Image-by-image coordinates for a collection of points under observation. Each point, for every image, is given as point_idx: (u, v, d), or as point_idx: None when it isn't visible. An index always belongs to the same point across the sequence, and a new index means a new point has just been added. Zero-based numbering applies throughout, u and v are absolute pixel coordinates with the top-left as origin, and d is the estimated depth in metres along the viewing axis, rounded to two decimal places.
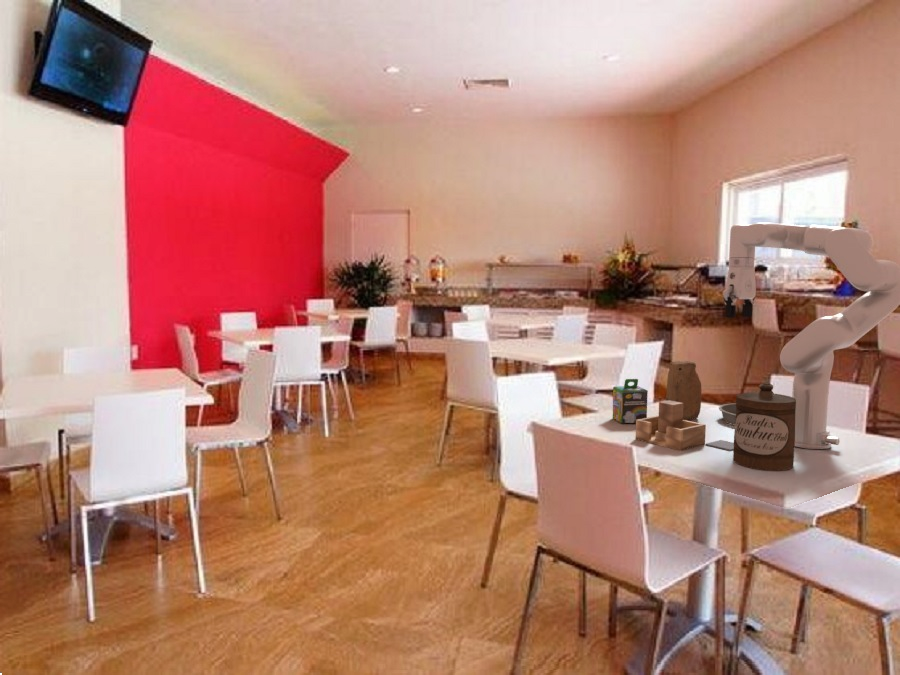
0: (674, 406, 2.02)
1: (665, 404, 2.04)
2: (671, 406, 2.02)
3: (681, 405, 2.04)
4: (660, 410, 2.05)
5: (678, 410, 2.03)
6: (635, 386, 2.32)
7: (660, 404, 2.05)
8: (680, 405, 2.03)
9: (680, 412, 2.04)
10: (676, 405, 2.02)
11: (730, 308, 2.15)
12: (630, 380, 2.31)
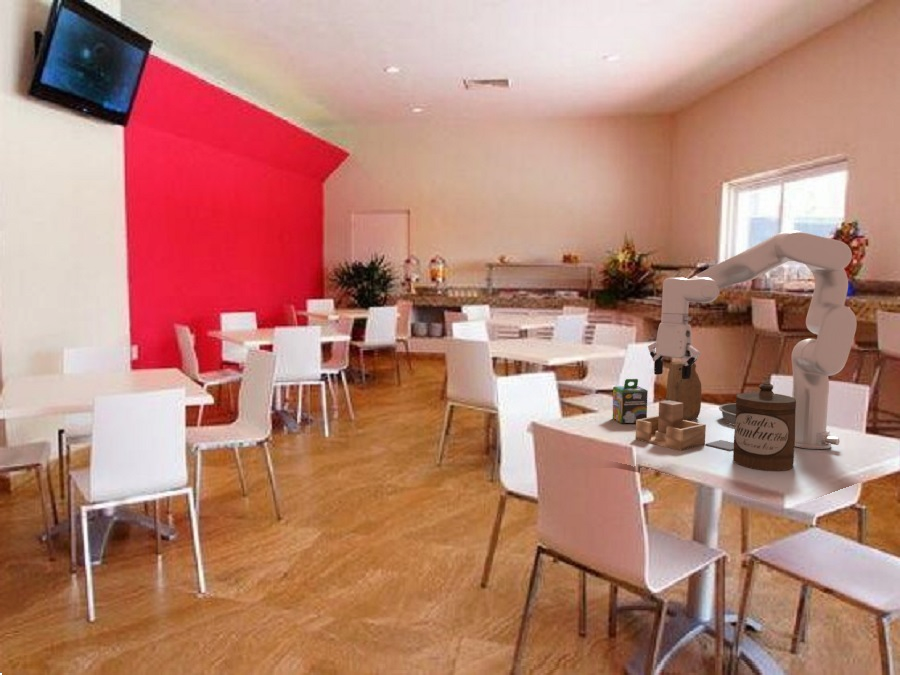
0: (674, 406, 2.02)
1: (665, 404, 2.04)
2: (671, 406, 2.02)
3: (681, 405, 2.04)
4: (660, 410, 2.05)
5: (678, 410, 2.03)
6: (635, 386, 2.32)
7: (660, 404, 2.05)
8: (680, 405, 2.03)
9: (680, 412, 2.04)
10: (676, 405, 2.02)
11: (690, 369, 1.99)
12: (630, 380, 2.31)
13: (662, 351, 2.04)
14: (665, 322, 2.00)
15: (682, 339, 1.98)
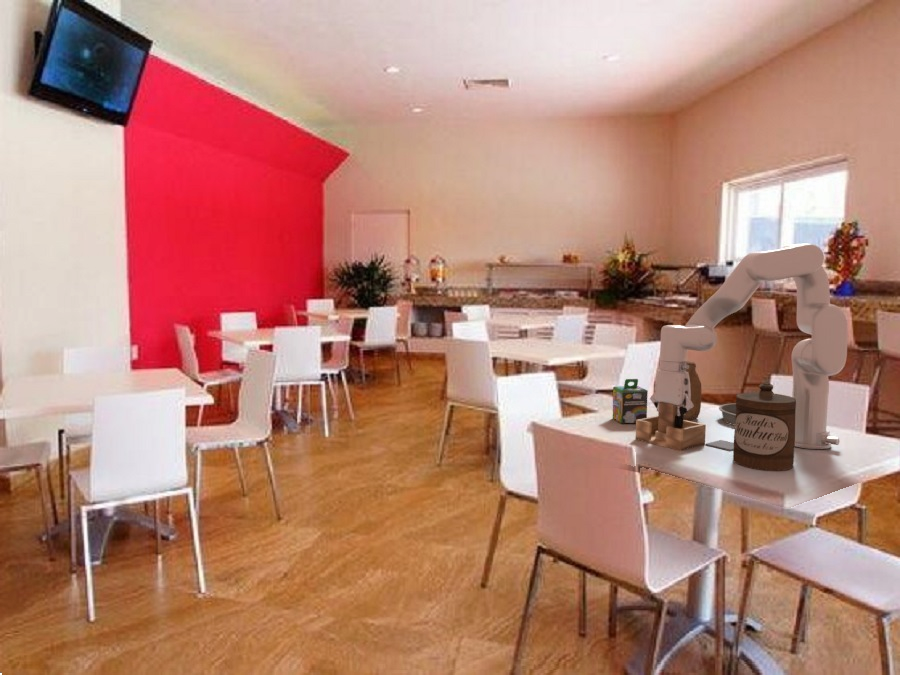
0: (674, 406, 2.02)
1: (665, 404, 2.04)
2: (671, 406, 2.02)
3: None
4: (660, 410, 2.05)
5: None
6: (635, 386, 2.32)
7: (660, 404, 2.05)
8: None
9: None
10: None
11: (682, 418, 2.02)
12: (630, 380, 2.31)
13: (660, 397, 2.05)
14: (663, 370, 2.02)
15: (680, 387, 1.99)
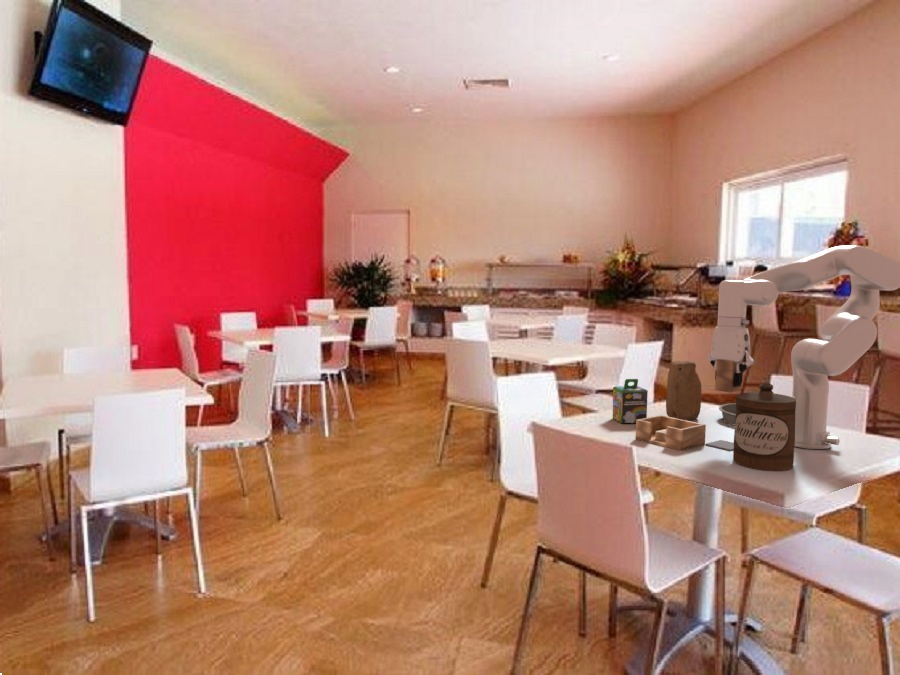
0: (733, 363, 1.96)
1: (723, 361, 1.98)
2: (730, 363, 1.96)
3: None
4: (718, 368, 1.99)
5: None
6: (635, 386, 2.32)
7: (718, 361, 1.99)
8: None
9: None
10: None
11: (741, 376, 1.97)
12: (630, 380, 2.31)
13: (718, 355, 1.99)
14: (722, 326, 1.96)
15: (740, 343, 1.94)
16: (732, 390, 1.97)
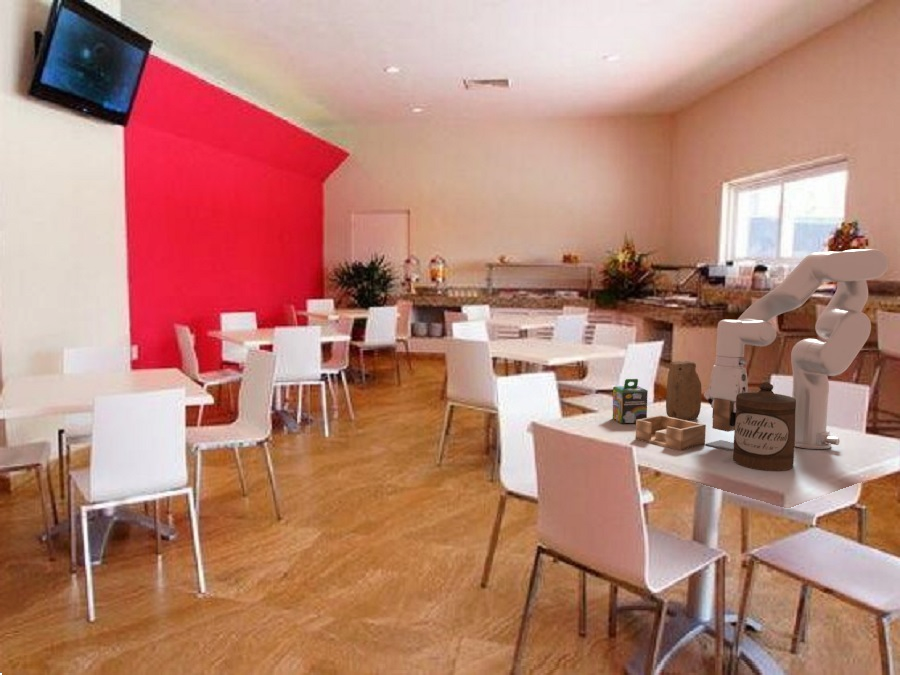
0: (730, 402, 1.97)
1: (721, 400, 1.99)
2: (727, 402, 1.97)
3: None
4: (715, 406, 2.00)
5: None
6: (635, 386, 2.32)
7: (715, 400, 2.00)
8: None
9: None
10: None
11: None
12: (630, 380, 2.31)
13: (715, 393, 2.00)
14: (720, 365, 1.97)
15: (738, 383, 1.95)
16: (729, 429, 1.98)
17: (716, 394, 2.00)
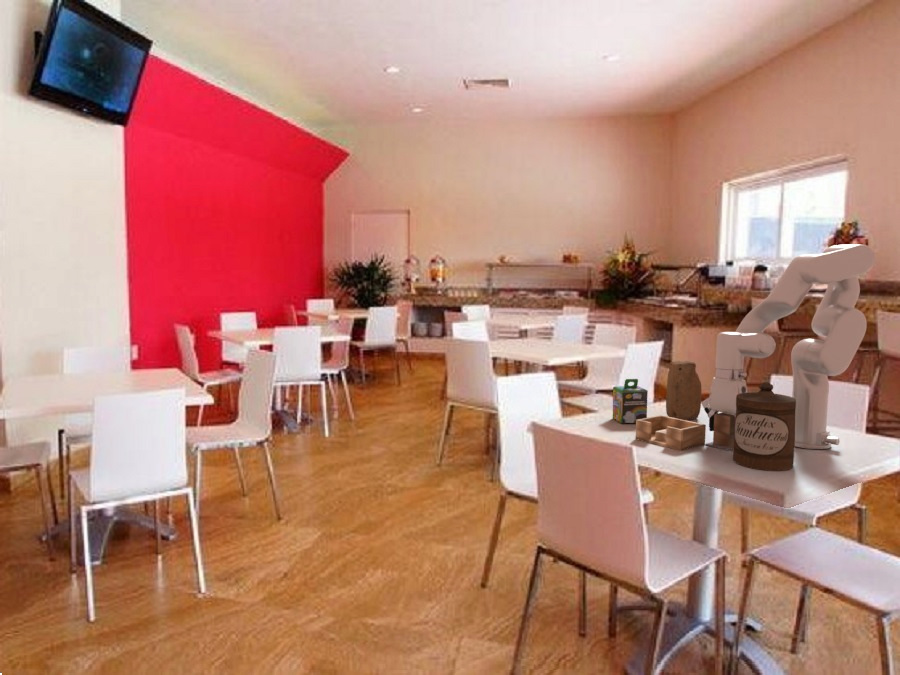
0: (731, 418, 1.98)
1: (721, 416, 1.99)
2: (728, 418, 1.98)
3: None
4: (715, 422, 2.01)
5: None
6: (635, 386, 2.32)
7: (715, 416, 2.01)
8: None
9: None
10: (733, 417, 1.98)
11: None
12: (630, 380, 2.31)
13: (716, 406, 2.01)
14: (720, 378, 1.98)
15: None
16: (730, 445, 1.98)
17: (716, 406, 2.01)
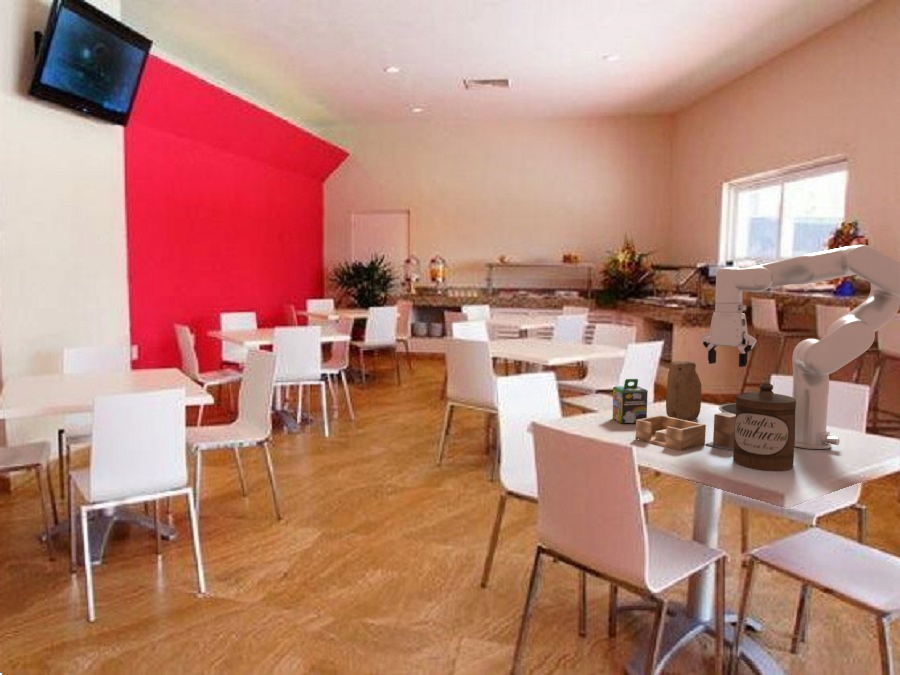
0: (731, 418, 1.98)
1: (721, 416, 1.99)
2: (728, 418, 1.98)
3: None
4: (715, 422, 2.01)
5: None
6: (635, 386, 2.32)
7: (715, 416, 2.01)
8: None
9: None
10: (733, 417, 1.98)
11: (746, 356, 2.03)
12: (630, 380, 2.31)
13: (717, 340, 2.07)
14: (720, 311, 2.04)
15: (738, 328, 2.01)
16: (730, 445, 1.98)
17: (717, 340, 2.07)
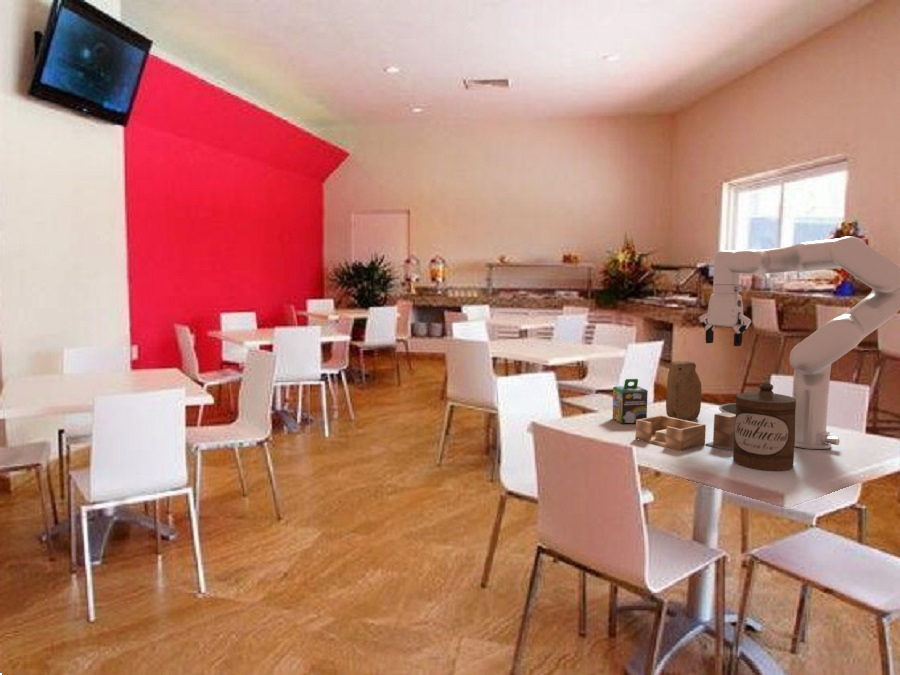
0: (731, 418, 1.98)
1: (721, 416, 1.99)
2: (728, 418, 1.98)
3: None
4: (715, 422, 2.01)
5: None
6: (635, 386, 2.32)
7: (715, 416, 2.01)
8: None
9: None
10: (733, 417, 1.98)
11: (741, 336, 2.11)
12: (630, 380, 2.31)
13: (713, 320, 2.15)
14: (717, 293, 2.12)
15: (734, 308, 2.10)
16: (730, 445, 1.98)
17: (714, 321, 2.15)
